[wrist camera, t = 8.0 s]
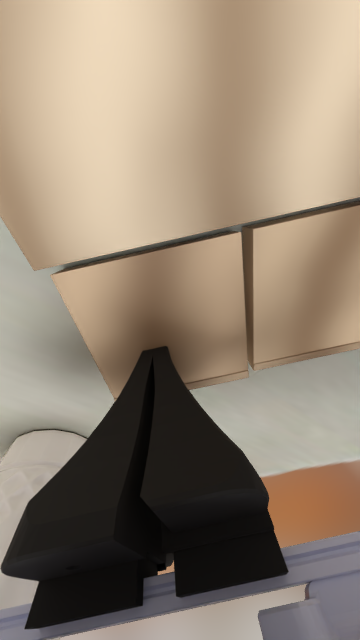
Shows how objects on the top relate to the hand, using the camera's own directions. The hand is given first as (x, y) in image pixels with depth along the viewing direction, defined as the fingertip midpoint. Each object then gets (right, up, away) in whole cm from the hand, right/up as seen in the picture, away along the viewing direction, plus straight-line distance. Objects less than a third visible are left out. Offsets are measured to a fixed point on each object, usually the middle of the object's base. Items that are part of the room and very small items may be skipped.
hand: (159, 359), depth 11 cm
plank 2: (+9, +4, 0) cm, 9 cm away
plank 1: (0, +2, 0) cm, 2 cm away
